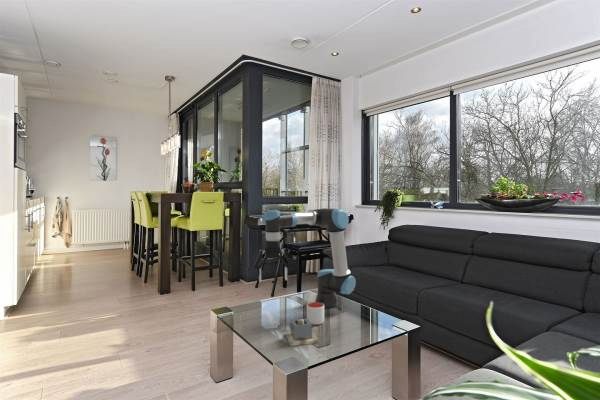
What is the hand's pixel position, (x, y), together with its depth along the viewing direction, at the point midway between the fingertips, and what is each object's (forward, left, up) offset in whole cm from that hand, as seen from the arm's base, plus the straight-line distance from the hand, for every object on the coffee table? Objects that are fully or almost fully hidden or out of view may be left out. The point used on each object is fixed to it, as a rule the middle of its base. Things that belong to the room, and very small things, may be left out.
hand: (273, 280), depth 185 cm
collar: (-13, +8, -27) cm, 31 cm away
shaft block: (-13, +8, -29) cm, 32 cm away
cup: (-26, -12, -29) cm, 41 cm away
